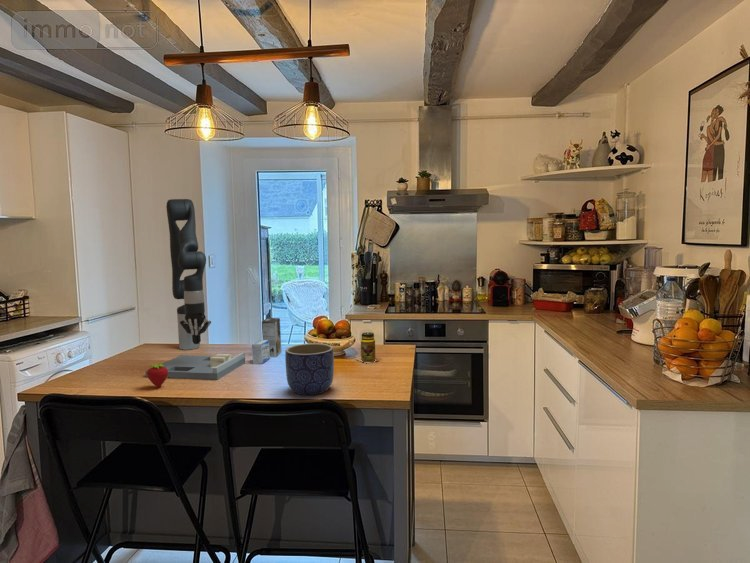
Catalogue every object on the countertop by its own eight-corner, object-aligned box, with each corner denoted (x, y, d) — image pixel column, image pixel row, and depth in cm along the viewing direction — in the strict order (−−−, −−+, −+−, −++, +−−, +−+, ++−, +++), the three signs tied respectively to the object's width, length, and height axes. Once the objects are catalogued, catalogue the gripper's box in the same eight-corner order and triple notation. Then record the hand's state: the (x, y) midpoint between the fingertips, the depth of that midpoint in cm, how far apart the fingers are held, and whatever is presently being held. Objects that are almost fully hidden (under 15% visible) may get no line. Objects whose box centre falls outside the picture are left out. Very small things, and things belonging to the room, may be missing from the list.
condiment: (365, 364, 201) (365, 335, 200) (354, 360, 208) (354, 332, 207) (380, 361, 205) (379, 333, 204) (369, 357, 212) (368, 330, 211)
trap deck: (181, 360, 212) (180, 350, 211) (245, 362, 206) (244, 352, 206) (145, 377, 188) (145, 365, 188) (217, 379, 183) (216, 368, 182)
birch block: (217, 362, 198) (217, 354, 198) (231, 362, 197) (231, 354, 197) (210, 366, 192) (209, 357, 192) (224, 367, 191) (223, 358, 191)
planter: (344, 389, 170) (343, 347, 168) (308, 401, 157) (306, 357, 156) (313, 380, 181) (311, 340, 179) (276, 391, 168) (275, 349, 167)
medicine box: (262, 364, 204) (261, 344, 203) (252, 364, 205) (251, 343, 204) (270, 359, 212) (269, 340, 211) (260, 359, 212) (259, 339, 212)
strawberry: (153, 384, 179) (152, 357, 178) (172, 385, 177) (171, 358, 176) (143, 389, 173) (142, 362, 172) (163, 390, 172) (161, 362, 171)
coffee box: (267, 352, 225) (266, 317, 223) (281, 352, 224) (280, 317, 223) (262, 357, 215) (261, 321, 214) (277, 357, 215) (275, 321, 214)
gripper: (214, 300, 197) (216, 342, 199) (184, 299, 199) (186, 340, 201) (204, 303, 190) (206, 346, 192) (173, 302, 192) (176, 345, 194)
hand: (196, 343), depth 196 cm, fingers closed
